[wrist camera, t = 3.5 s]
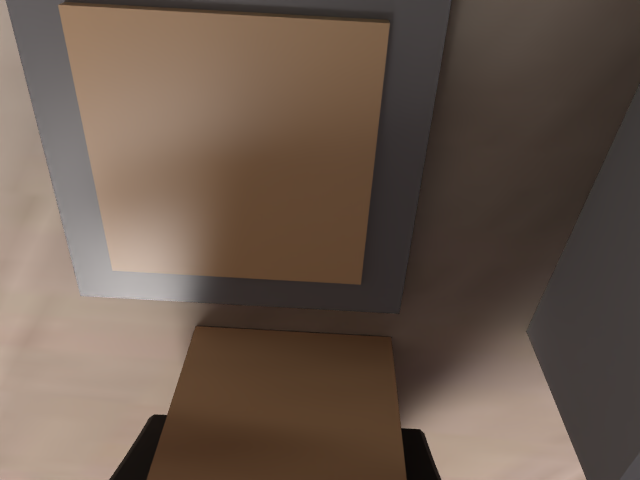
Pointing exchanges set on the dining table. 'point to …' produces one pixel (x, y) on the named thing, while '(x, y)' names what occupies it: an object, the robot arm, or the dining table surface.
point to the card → (236, 143)
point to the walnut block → (283, 409)
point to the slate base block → (599, 317)
